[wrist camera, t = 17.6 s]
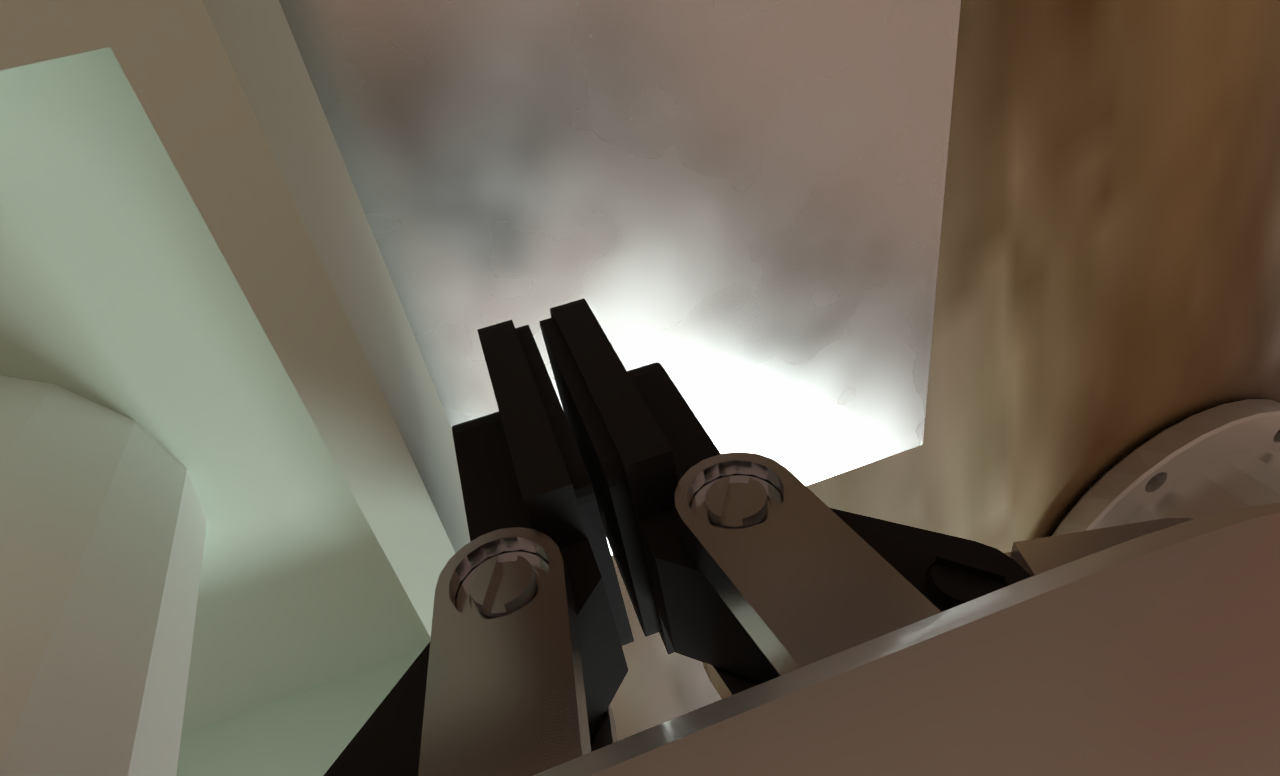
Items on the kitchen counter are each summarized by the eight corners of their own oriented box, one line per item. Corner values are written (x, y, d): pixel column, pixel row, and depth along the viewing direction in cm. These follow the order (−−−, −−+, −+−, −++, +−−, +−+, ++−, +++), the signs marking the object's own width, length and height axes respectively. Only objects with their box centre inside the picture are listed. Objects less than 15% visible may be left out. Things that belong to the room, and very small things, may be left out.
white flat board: (955, -307, 12) (993, -322, 11) (905, 428, 21) (924, 446, 21) (-1096, 42, 8) (-1238, 55, 7) (-58, 766, 17) (-76, 803, 16)
